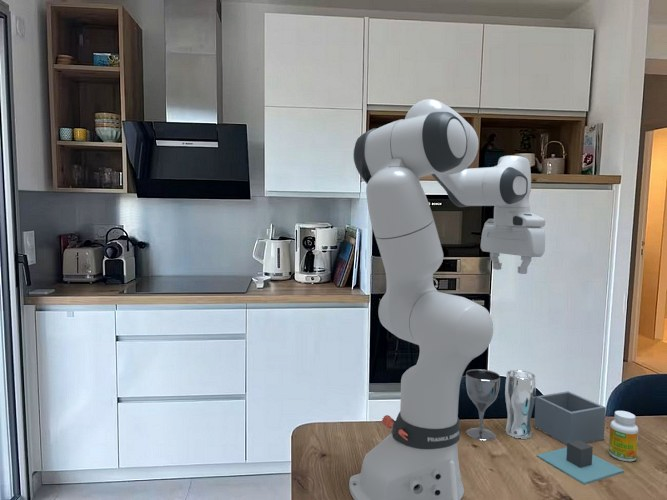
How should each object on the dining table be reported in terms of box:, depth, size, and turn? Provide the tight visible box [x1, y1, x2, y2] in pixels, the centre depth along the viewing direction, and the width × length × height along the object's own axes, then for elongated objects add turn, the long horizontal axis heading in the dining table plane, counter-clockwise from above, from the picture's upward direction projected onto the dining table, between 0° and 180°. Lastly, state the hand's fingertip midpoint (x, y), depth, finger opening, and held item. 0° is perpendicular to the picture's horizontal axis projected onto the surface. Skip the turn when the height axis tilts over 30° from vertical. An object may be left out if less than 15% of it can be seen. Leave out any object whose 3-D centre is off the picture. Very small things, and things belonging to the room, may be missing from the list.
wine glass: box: [465, 368, 501, 442], centre depth 116 cm, size 8×8×15 cm
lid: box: [536, 440, 625, 486], centre depth 103 cm, size 12×12×5 cm
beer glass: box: [504, 369, 537, 440], centre depth 116 cm, size 7×7×15 cm
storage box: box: [533, 391, 607, 446], centre depth 117 cm, size 11×11×8 cm
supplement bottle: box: [608, 410, 639, 462], centre depth 106 cm, size 5×5×10 cm
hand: (509, 271), depth 125 cm, fingers open, 8 cm apart
